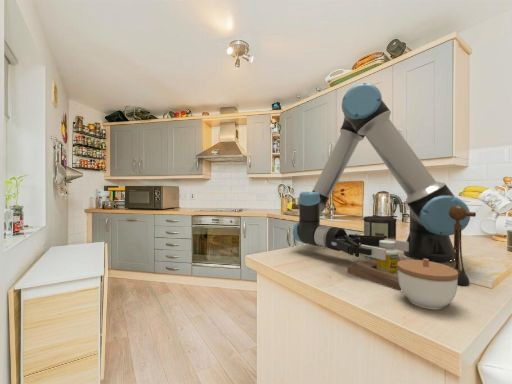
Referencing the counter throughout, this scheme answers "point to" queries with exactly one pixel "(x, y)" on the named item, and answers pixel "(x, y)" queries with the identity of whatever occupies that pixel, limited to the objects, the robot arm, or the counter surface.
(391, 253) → the supplement bottle
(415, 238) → the robot arm
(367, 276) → the walnut socket plate
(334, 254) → the counter surface
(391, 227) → the coffee can
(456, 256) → the wooden tabletop sculpture
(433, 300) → the lidded jar
